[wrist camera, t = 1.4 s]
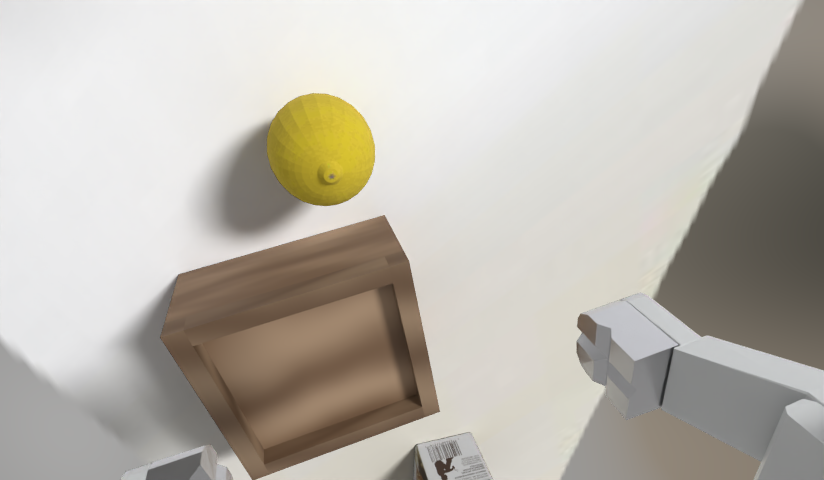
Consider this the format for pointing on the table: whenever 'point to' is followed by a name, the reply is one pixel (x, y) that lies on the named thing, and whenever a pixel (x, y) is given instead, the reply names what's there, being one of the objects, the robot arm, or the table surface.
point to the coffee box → (450, 460)
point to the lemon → (321, 149)
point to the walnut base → (304, 345)
